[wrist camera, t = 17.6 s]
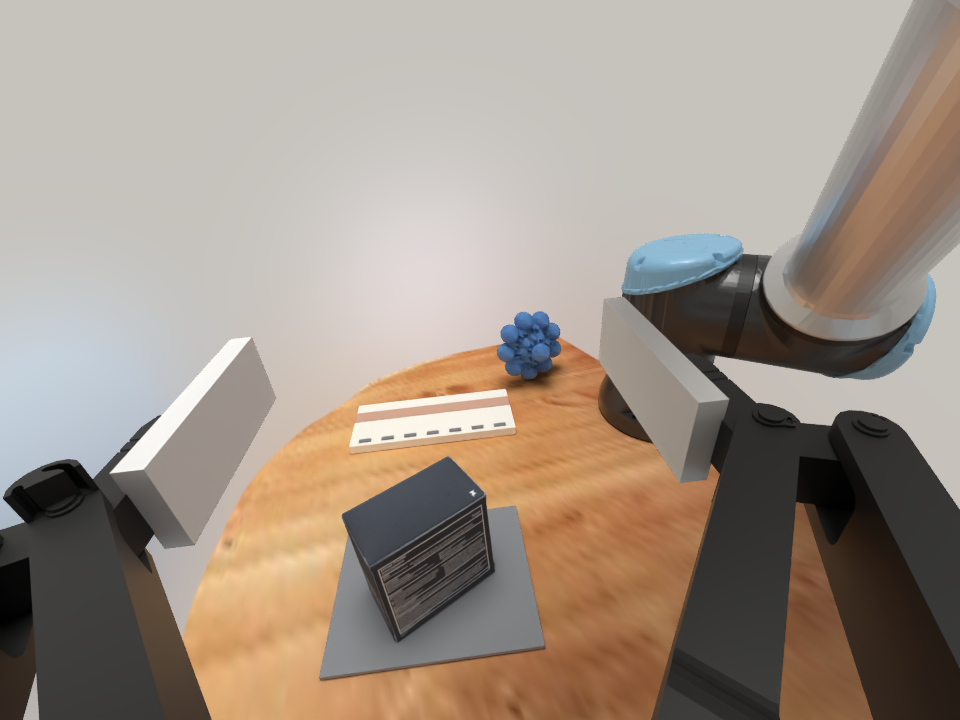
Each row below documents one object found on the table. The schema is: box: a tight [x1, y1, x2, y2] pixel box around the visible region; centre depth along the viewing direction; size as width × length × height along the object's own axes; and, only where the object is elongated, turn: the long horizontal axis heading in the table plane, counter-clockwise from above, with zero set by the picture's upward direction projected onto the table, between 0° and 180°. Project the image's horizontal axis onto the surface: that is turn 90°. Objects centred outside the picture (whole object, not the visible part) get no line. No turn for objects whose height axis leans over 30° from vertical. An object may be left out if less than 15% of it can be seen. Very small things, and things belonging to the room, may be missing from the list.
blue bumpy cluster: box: [497, 312, 561, 380], centre depth 64 cm, size 12×7×12 cm, turn 120°
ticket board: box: [349, 389, 516, 454], centre depth 59 cm, size 22×9×1 cm, turn 95°
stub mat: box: [319, 506, 545, 680], centre depth 39 cm, size 18×14×1 cm
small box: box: [342, 456, 495, 642], centre depth 37 cm, size 11×6×10 cm, turn 125°
